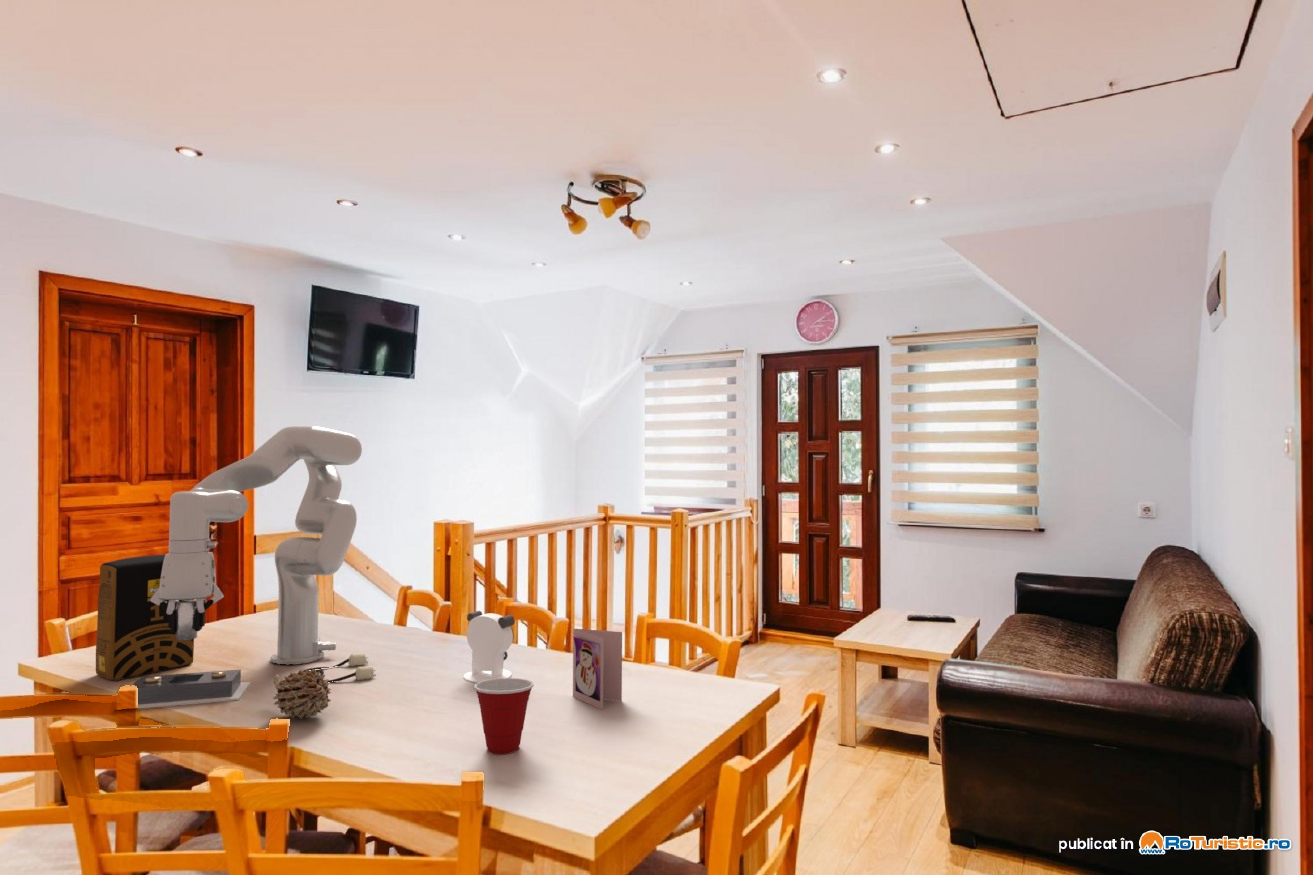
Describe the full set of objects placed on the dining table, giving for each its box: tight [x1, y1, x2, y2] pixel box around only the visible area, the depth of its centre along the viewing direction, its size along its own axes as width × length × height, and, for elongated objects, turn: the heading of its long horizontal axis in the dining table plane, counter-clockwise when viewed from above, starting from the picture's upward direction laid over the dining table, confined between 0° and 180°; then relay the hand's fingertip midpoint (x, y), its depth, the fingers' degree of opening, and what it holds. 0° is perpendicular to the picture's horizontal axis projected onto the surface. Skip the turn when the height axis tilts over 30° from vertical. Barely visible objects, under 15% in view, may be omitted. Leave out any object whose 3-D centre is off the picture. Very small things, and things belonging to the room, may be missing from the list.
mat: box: [137, 681, 251, 710], centre depth 165 cm, size 23×12×1 cm, turn 108°
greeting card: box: [572, 628, 623, 710], centre depth 164 cm, size 11×7×15 cm, turn 40°
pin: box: [176, 599, 198, 640], centre depth 165 cm, size 4×4×8 cm
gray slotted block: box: [131, 668, 242, 705], centre depth 165 cm, size 20×9×4 cm, turn 108°
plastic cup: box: [473, 677, 535, 755], centre depth 137 cm, size 11×11×12 cm
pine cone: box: [272, 669, 333, 719], centre depth 154 cm, size 22×10×10 cm, turn 53°
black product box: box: [95, 553, 195, 682], centre depth 185 cm, size 11×19×28 cm, turn 147°
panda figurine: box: [463, 610, 515, 684], centre depth 182 cm, size 12×11×15 cm
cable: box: [302, 653, 377, 683], centre depth 182 cm, size 16×16×4 cm
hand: (186, 629), depth 165 cm, fingers closed on pin, 4 cm apart
